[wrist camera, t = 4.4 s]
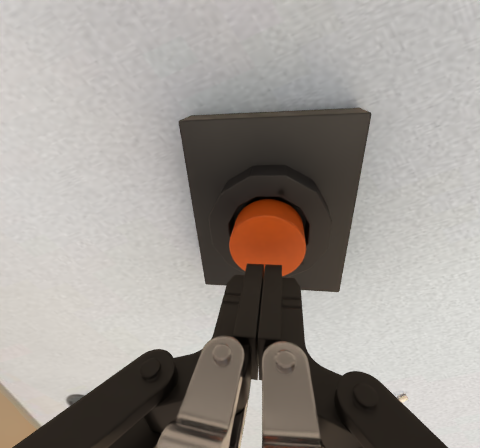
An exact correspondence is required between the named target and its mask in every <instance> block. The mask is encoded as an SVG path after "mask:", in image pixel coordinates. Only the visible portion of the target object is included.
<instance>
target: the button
mask: <svg viewBox="0 0 480 448" xmlns="http://www.w3.org/2000/svg"><path fill="white" fill-rule="evenodd" d="M229 248H230V253H231V256H232V258H233V260H234V261H235V263H236V264H237V265H238V266H239V267H240V268H241V269H243V270H244V271H245V270H246V265H247V263H249V264H264V270H265V264H272V265H282V276H285V275H287V274H289V273H291V272H293V271H294V270H295V269H296V268H297V267H298V266H299V265H300V264H301V262H302V261H303V259H304V256H305V253H306V242H305V235H304V228H303V222H302V219H301V217H300V215H299V214H298V213H297V211H296V210H295V209H294V208H293V207H291V206H290V205H288V204H287V203H284V202H282V201H279V200H274V199H262V200H257V201H254V202H252V203H250V204H248V205H247V206H246V207H244V208H243V209H242V210H241V211H240V213H239V214H238V216H237V218H236V221H235V224H234V228H233V231H232V234H231V237H230V241H229Z"/></svg>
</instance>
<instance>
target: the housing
mask: <svg viewBox="0 0 480 448" xmlns="http://www.w3.org/2000/svg"><path fill="white" fill-rule="evenodd" d="M370 119H371V112H368V111H366V110H363V109H361V108H346V109H324V110H302V111H280V112H259V113H237V114H215V115H193V116H189V117H187V118H185V119H182V120H180V121H179V126H180V132H181V138H182V145H183V151H184V157H185V163H186V169H187V175H188V181H189V187H190V193H191V199H192V205H193V211H194V217H195V223H196V229H197V235H198V241H199V247H200V253H201V259H202V265H203V271H204V277H205V283H206V284H210V285H227V283H228V282H229V280H230V279H231V278H232V277H233V276H234V275H245V271H244V270H243V269H241V268H240V267H239V266H238V265H237V264H236V263H235V261H234V260H233V258H232V256H231V253H230V248H229V241H230V237H231V234H232V231H233V228H234V224H235V221H236V218H237V216H238V214H239V213H240V211H241V210H242V209H243V208H244V207H246V206H247V205H248V204H250V203H252V202H254V201H257V200H262V199H274V200H279V201H282V202H284V203H287V204H288V205H290V206H291V207H293V208H294V209H295V210H296V211H297V213H298V214H299V215H300V217H301V219H302V222H303V228H304V235H305V242H306V253H305V256H304V259H303V261H302V262H301V264H300V265H299V266H298V267H297V268H296V269H295V270H294V271H293V272H291V273H289V274H287V275H285V276H282V277H286V278H295V279H296V281H297V283H298V284H299V286H300V288H301V290H312V291H328V292H339V289H340V284H341V278H342V273H343V267H344V262H345V256H346V251H347V245H348V240H349V234H350V229H351V223H352V218H353V212H354V207H355V201H356V196H357V190H358V185H359V179H360V174H361V168H362V163H363V157H364V152H365V146H366V141H367V135H368V130H369V124H370Z"/></svg>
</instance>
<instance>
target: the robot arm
mask: <svg viewBox="0 0 480 448" xmlns="http://www.w3.org/2000/svg"><path fill="white" fill-rule="evenodd" d="M258 367H259V380H262V448H448V447H447V446H446V445H445V444H444V443H443V442H442V441H441V440H440V439H439V438H438V437H437V436H436V435H434V434H433V433H432V432H431V431H430V430H429V429H428V428H427V427H426V426H425V425H424V424H423V423H422V422H421V421H420V420H419V419H418V418H417V417H416V416H415V415H414V414H413V413H412V412H411V411H410V410H409V409H408V408H407V407H406V406H404V405H403V404H402V403H401V402H400V401H399V400H398V399H397V398H396V397H395V396H394V395H393V394H392V393H391V392H390V391H389V390H388V389H387V388H386V387H385V386H384V385H383V384H382V383H381V382H379V381H378V380H377V379H376V378H374V377H373V376H371V375H369V374H366V373H363V372H358V371H353V372H348V373H346V374H344V375H343V376H342V375H339V374H337V373H335V372H332V371H330V370H328V369H326V368H324V367H322V366H320V365H319V364H317V363H316V362H315V361H314V360H313V359H312V358H311V356H310V355H309V354H308V352H307V349H306V347H305V339H304V326H303V314H302V301H301V288H300V286H299V284H298V283H297V281H296V279H295V278H286V277H282V265H272V264H265V270H264V264H249V263H247V265H246V270H245V275H234V276H233V277H232V278H231V279H230V280H229V282H228V283H227V286H226V290H225V295H224V297H223V301H222V304H221V308H220V312H219V315H218V319H217V323H216V327H215V330H214V334H213V337H212V339H211V340H210V341H209V342H207V344H206V345H205V346H204V347H203V349H202V350H200V351H198V352H196V353H194V354H190V355H186V356H181V357H177V358H173V357H172V355H171V354H170V353H169V352H167V351H165V350H161V349H156V350H151V351H148V352H146V353H144V354H143V355H141V356H140V357H138V358H137V359H136V360H134V361H133V362H131V363H130V364H129V365H127V366H126V367H124V368H123V369H122V370H120V371H119V372H117V373H116V374H115V375H113V376H112V377H110V378H109V379H108V380H106V381H105V382H103V383H102V384H101V385H99V386H98V387H96V388H95V389H94V390H92V391H91V392H89V393H88V394H87V395H85V396H84V397H82V398H81V399H80V400H78V401H77V402H75V403H74V404H73V405H71V406H70V407H68V408H67V409H66V410H64V411H63V412H61V413H60V414H59V415H57V416H56V417H54V418H53V419H52V420H50V421H49V422H47V423H46V424H45V425H43V426H42V427H41V428H39V429H38V430H36V431H35V432H34V433H32V434H31V435H29V436H28V437H27V438H25V439H24V440H22V441H21V442H20V443H18V444H17V445H15V446H14V447H13V448H240V446H241V440H242V434H243V429H244V423H245V417H246V412H247V406H248V399H249V392H250V383H251V379H254V380H257V379H258Z"/></svg>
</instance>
